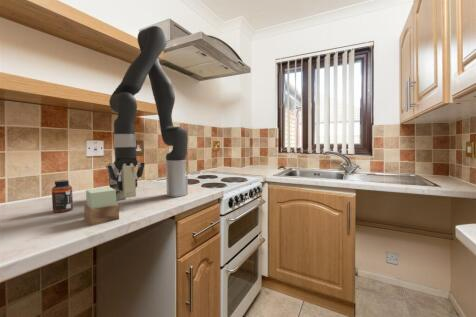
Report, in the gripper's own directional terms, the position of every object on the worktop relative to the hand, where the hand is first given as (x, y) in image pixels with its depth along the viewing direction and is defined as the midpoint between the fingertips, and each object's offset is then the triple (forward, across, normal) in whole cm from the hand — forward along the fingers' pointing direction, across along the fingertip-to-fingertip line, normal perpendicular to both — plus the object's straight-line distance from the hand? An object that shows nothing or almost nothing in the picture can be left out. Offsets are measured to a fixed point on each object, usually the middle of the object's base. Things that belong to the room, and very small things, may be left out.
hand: (127, 189), depth 87 cm
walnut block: (+7, +12, +8) cm, 16 cm away
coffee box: (+8, -2, -19) cm, 20 cm away
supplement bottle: (+7, +19, -13) cm, 24 cm away
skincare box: (+3, 0, 0) cm, 3 cm away
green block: (+2, +11, +8) cm, 14 cm away
